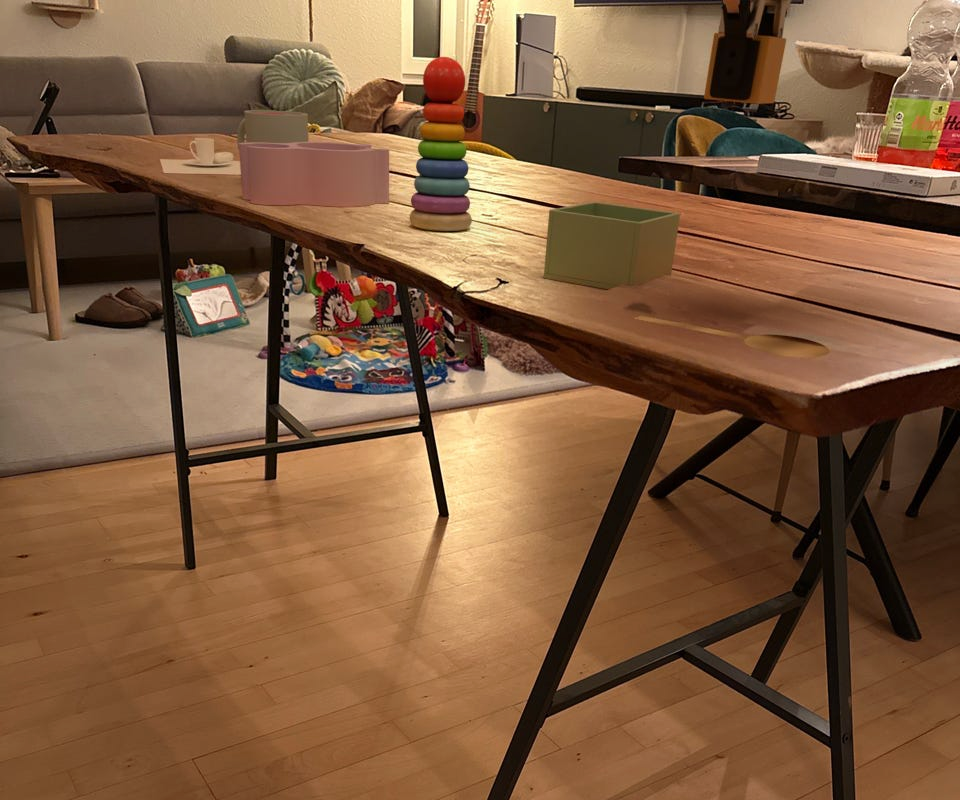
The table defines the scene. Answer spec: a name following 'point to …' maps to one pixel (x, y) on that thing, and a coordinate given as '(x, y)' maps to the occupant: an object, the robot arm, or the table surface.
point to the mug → (273, 127)
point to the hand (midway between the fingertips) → (740, 95)
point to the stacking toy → (442, 153)
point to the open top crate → (609, 244)
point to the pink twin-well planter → (314, 174)
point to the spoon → (761, 341)
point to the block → (757, 70)
